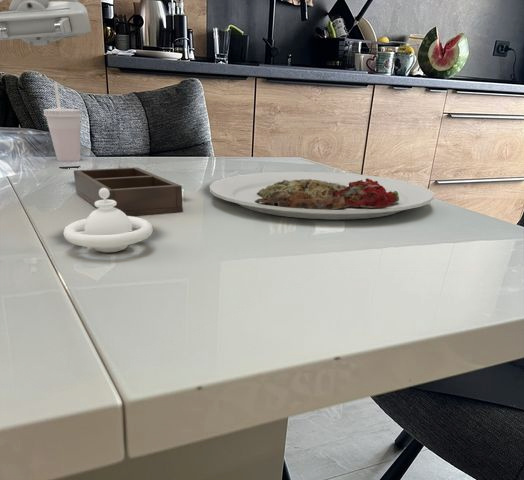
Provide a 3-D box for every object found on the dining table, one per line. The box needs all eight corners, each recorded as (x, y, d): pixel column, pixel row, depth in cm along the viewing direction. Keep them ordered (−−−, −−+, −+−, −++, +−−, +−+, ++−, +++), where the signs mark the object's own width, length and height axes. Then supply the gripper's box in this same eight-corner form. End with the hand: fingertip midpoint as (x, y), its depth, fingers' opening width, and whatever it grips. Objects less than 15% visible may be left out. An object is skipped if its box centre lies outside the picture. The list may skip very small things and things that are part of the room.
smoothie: (49, 165, 101) (37, 81, 95) (85, 164, 103) (75, 82, 97) (53, 170, 96) (40, 81, 90) (90, 169, 98) (81, 82, 92)
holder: (109, 218, 63) (106, 190, 62) (76, 193, 77) (73, 170, 76) (182, 211, 67) (181, 185, 66) (139, 189, 81) (137, 167, 80)
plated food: (214, 182, 88) (213, 160, 86) (398, 185, 89) (400, 163, 88) (203, 225, 61) (202, 194, 59) (467, 228, 62) (472, 198, 61)
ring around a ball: (48, 251, 51) (104, 269, 47) (37, 189, 48) (95, 201, 44) (116, 233, 56) (171, 247, 52) (109, 176, 54) (167, 186, 50)
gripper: (-30, 3, 101) (-40, 14, 90) (84, -5, 105) (86, 5, 94) (-18, 41, 105) (-26, 57, 95) (91, 32, 109) (94, 46, 98)
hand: (31, 31), depth 94 cm, fingers open, 8 cm apart
